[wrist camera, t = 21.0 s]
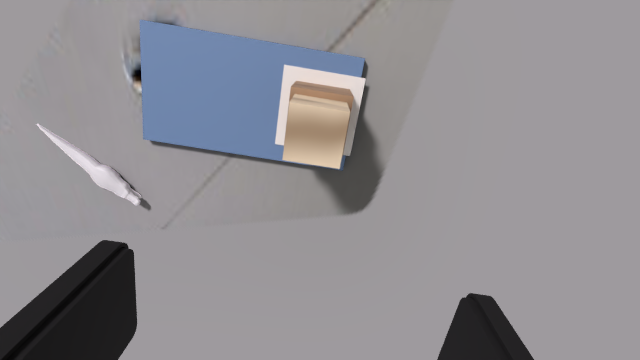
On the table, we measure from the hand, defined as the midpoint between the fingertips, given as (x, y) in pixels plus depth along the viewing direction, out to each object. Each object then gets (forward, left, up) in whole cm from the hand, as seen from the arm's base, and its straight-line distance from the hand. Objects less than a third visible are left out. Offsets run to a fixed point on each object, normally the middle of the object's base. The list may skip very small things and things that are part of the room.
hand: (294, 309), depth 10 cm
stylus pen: (+25, -15, -33) cm, 44 cm away
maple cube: (0, 0, -25) cm, 25 cm away
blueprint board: (+5, -6, -32) cm, 33 cm away
